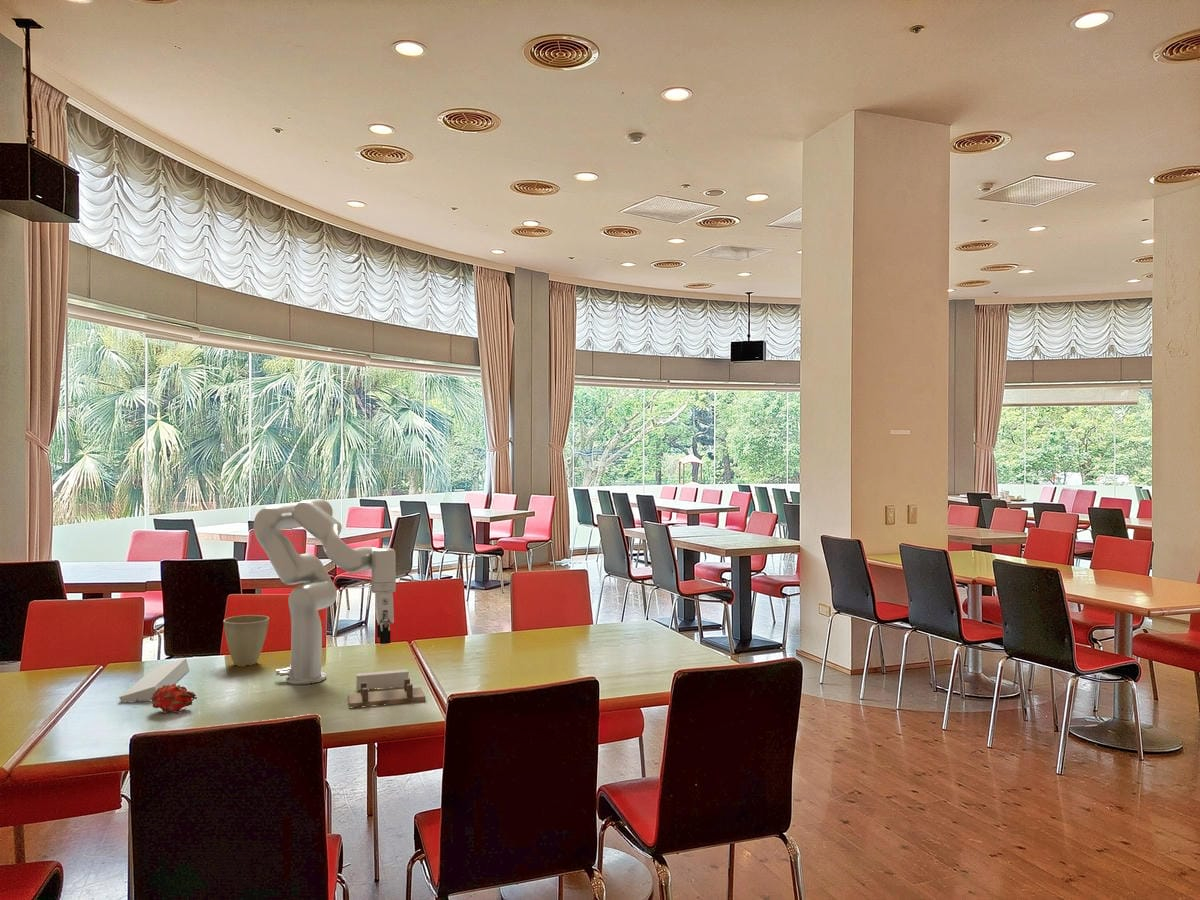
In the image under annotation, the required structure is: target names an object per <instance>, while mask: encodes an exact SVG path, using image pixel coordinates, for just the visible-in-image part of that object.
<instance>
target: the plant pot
mask: <svg viewBox="0 0 1200 900" xmlns="http://www.w3.org/2000/svg"><path fill="white" fill-rule="evenodd" d="M269 623H270V617H269V616H267V615H260V614H259V615H258V614H257V615H256V614H250V615H249V614H248V615H236V616H231V617H226V618H225V619H223V628H224V635H225V639H226V644H227V647H228V650H229V654H230V657H231V660H232V663H233V665H234V666H235V665H240V666H239V667H246V666H245V665H250V666H254V665H256V664H257V663H258V660H259V658H260V656H261V653H262V651H263V647H264V643H265V642H266V641H265V640H266V637H267V633H268V627H269ZM255 663H256V664H255ZM253 664H254V665H253ZM242 665H244V666H242Z"/></svg>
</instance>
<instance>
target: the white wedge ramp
mask: <svg viewBox="0 0 1200 900" xmlns="http://www.w3.org/2000/svg"><path fill="white" fill-rule="evenodd" d="M189 671H190V667H189V664H188V660H187V658H186V657H185V658H183V659H179V660H176V661H172V662H169V663H165V664H161V665H159V666H155V667H154V668H153V669H151V670H150V671H149V672H148V673H147V674H145V675H144V676H143V677H142V678H140V679H139V680H138V681H137V682H136V683H134V684H133V685H132V686H131V687H129V688H128V689H127V690H126V691H124V692H123V693H122V694H121V695H120V696H119V697H118V698H119V700H120V702H121V703H122V702H124V703H126V702H125V701H136V702H138V701H139V702H141V701H142V702H143V701H145V702H150V701H149V700H152V699H151V698H152V697H153V694H154V693H155V692H156V691H157V689H158V688H162V687H163V685H169V686H172V685H173V684H175V685H177V683H179V681H181V679H182V678H183V677H184V676H185V675H186V674H188V672H189ZM146 700H148V701H146Z"/></svg>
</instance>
